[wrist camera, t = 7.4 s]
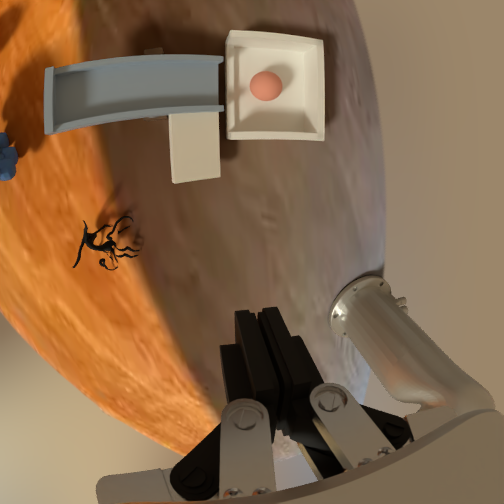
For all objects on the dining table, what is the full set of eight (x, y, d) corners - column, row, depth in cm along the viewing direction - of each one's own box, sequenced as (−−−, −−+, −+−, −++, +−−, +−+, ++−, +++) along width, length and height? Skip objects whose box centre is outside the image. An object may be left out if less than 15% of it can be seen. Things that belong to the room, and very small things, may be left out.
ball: (281, 74, 26) (283, 68, 23) (281, 102, 28) (283, 99, 24) (250, 74, 26) (248, 68, 23) (250, 102, 28) (248, 99, 25)
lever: (212, 61, 24) (227, 53, 21) (214, 175, 29) (228, 179, 27) (50, 76, 16) (45, 67, 13) (59, 205, 21) (55, 213, 19)
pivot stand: (168, 58, 24) (165, 46, 19) (169, 118, 27) (165, 116, 23) (147, 61, 23) (141, 50, 19) (148, 121, 26) (140, 119, 22)
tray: (307, 49, 26) (323, 40, 22) (308, 138, 31) (324, 141, 27) (224, 42, 24) (230, 30, 20) (225, 138, 29) (231, 139, 25)
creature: (148, 219, 32) (89, 200, 28) (152, 238, 28) (83, 217, 24) (129, 270, 35) (75, 255, 30) (131, 295, 30) (69, 279, 26)
